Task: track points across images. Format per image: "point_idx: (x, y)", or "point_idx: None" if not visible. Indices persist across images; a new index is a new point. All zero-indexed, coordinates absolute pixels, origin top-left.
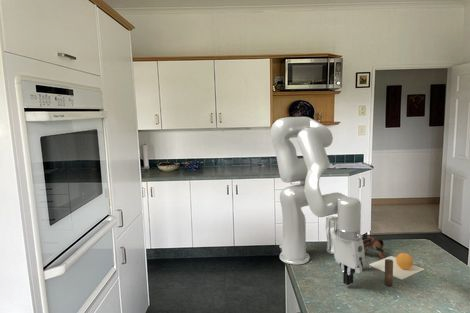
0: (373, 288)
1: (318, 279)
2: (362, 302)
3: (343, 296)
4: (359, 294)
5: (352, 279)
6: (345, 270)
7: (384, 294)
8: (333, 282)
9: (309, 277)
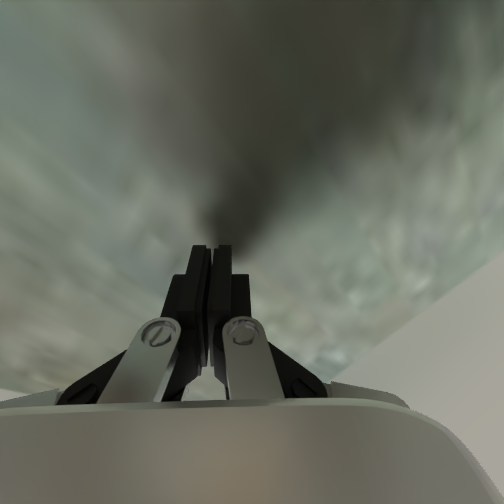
0: (351, 106)
1: (52, 326)
2: (371, 302)
3: (271, 333)
4: (318, 261)
5: (249, 293)
6: (188, 382)
7: (461, 113)
8: (120, 284)
9: (12, 347)
